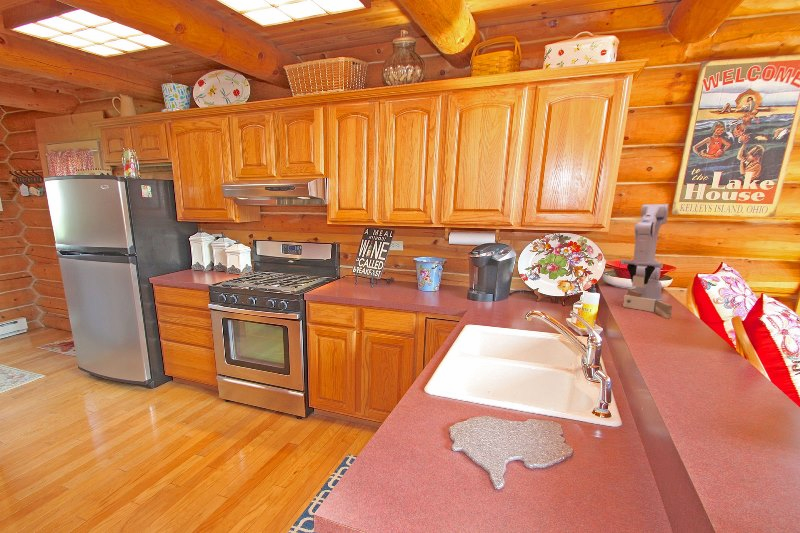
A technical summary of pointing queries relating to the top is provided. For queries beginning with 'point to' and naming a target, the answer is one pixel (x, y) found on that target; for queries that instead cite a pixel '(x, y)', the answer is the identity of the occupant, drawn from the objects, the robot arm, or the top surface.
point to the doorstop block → (638, 281)
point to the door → (639, 303)
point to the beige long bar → (660, 308)
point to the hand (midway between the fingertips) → (639, 283)
